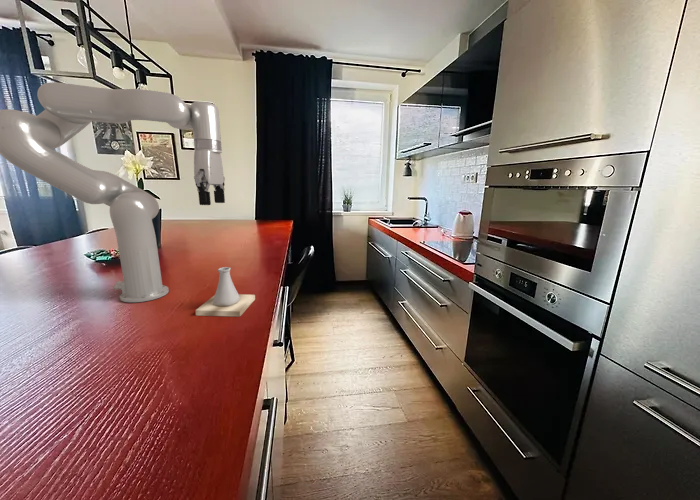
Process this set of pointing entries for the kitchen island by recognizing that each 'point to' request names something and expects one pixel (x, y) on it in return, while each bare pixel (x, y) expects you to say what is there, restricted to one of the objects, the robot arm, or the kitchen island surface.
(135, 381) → the kitchen island surface
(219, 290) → the flask
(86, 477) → the kitchen island surface
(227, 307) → the birch board
